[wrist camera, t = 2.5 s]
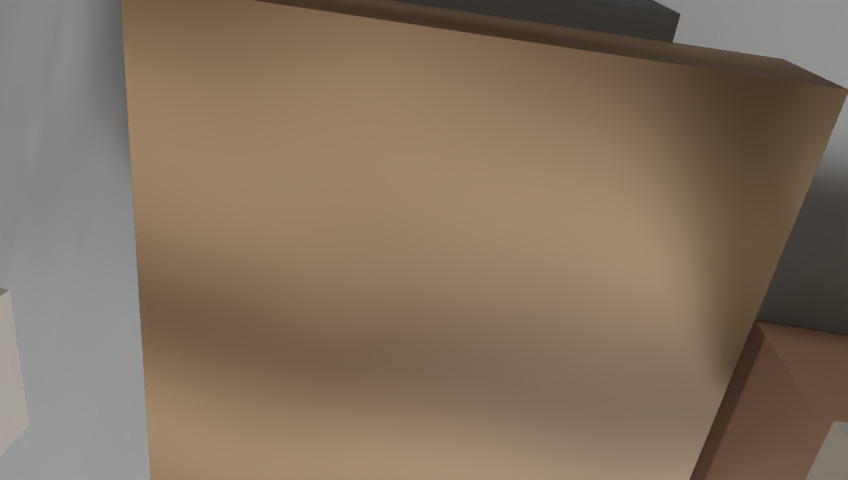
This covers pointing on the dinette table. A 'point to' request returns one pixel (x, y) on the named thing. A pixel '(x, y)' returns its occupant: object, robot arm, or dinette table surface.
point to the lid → (448, 238)
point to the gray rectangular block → (578, 14)
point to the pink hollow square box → (778, 405)
